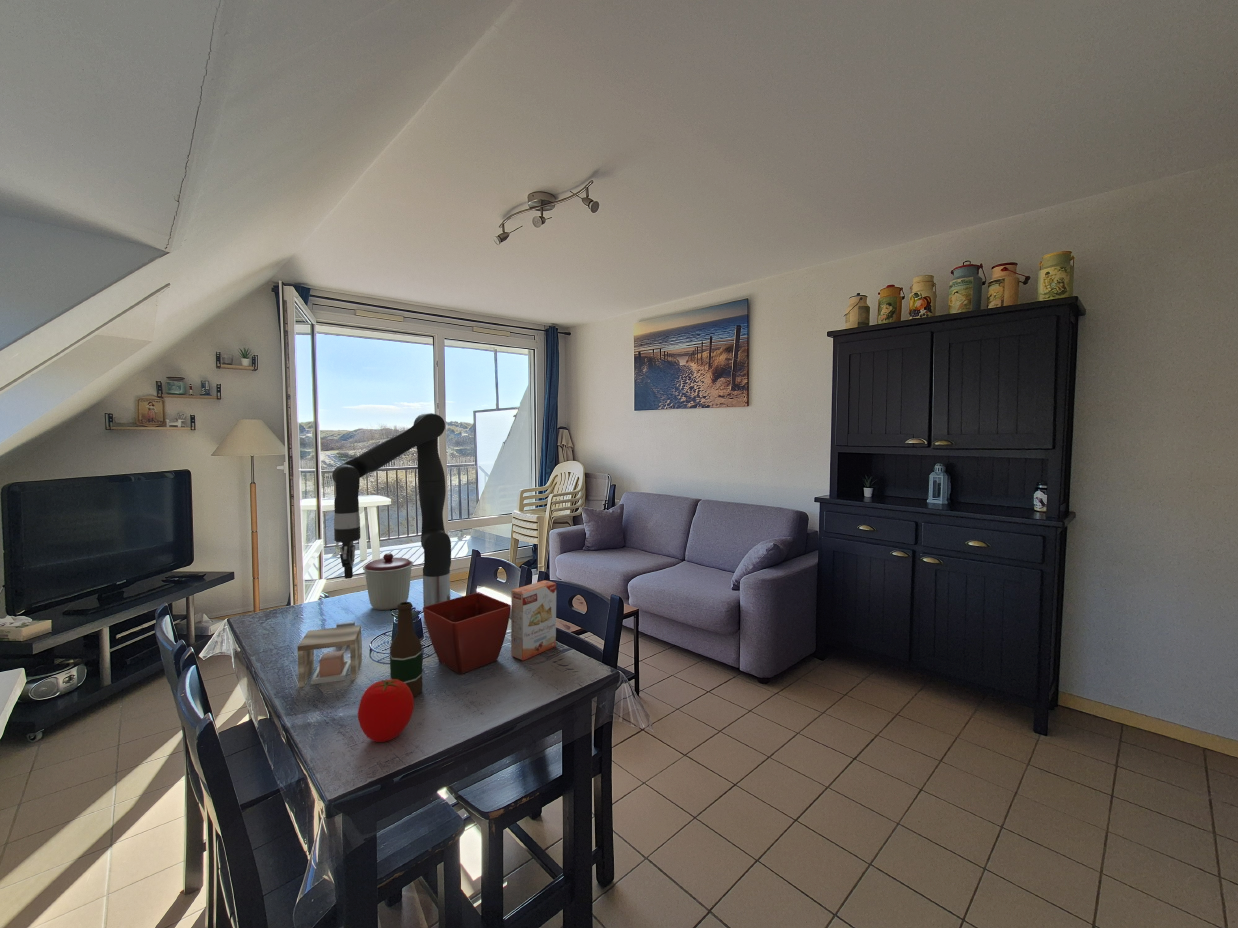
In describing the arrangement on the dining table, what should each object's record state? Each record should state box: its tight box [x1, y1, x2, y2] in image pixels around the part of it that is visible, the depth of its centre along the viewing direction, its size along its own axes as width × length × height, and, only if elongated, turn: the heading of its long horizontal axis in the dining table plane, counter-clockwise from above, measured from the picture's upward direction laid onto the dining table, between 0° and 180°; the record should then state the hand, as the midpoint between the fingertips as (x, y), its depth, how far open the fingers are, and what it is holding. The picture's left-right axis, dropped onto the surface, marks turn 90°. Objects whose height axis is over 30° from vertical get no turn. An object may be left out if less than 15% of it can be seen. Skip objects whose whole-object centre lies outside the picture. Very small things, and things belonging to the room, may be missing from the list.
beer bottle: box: [389, 601, 423, 698], centre depth 130 cm, size 8×8×24 cm
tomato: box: [357, 678, 415, 743], centre depth 111 cm, size 11×11×13 cm
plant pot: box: [422, 592, 511, 675], centre depth 148 cm, size 19×19×17 cm
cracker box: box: [510, 580, 557, 662], centre depth 155 cm, size 14×6×21 cm, turn 141°
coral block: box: [318, 650, 345, 677], centre depth 137 cm, size 5×5×5 cm
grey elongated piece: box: [310, 621, 356, 685], centre depth 145 cm, size 27×8×8 cm, turn 20°
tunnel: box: [296, 624, 363, 688], centre depth 137 cm, size 11×13×12 cm
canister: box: [362, 552, 414, 611], centre depth 196 cm, size 18×18×21 cm
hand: (348, 577), depth 163 cm, fingers closed
